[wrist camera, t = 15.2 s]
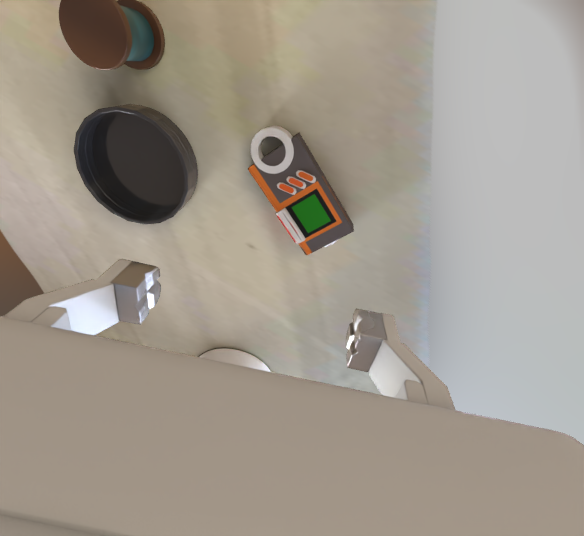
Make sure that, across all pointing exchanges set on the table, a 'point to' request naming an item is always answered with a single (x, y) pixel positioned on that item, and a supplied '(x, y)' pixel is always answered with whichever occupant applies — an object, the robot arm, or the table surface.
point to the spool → (112, 33)
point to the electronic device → (298, 191)
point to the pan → (136, 163)
